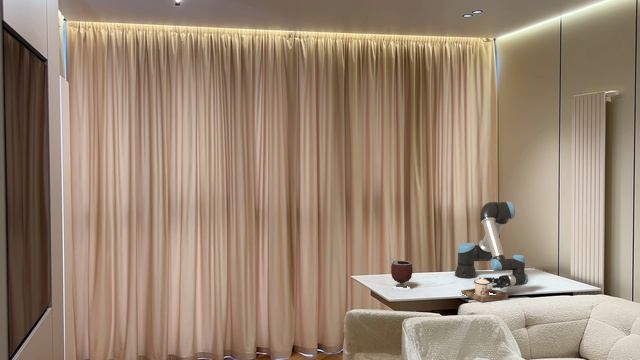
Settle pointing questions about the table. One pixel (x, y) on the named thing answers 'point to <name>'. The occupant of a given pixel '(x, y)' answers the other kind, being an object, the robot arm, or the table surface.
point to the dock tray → (489, 298)
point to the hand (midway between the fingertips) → (480, 284)
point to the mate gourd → (401, 271)
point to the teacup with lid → (482, 287)
